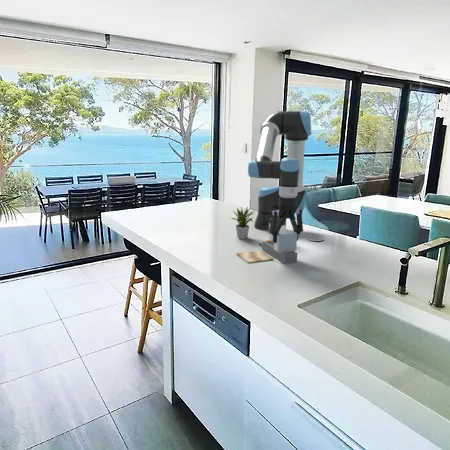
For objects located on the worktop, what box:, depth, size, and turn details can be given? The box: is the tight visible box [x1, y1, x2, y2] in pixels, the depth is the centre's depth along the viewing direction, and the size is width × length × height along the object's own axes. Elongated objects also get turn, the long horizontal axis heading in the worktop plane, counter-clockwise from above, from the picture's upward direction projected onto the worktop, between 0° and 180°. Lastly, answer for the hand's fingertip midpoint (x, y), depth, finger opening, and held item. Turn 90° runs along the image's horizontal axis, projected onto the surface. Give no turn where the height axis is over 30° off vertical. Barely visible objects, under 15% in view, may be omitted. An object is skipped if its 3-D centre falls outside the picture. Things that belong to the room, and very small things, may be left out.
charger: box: [274, 229, 297, 253], centre depth 160 cm, size 4×8×10 cm, turn 112°
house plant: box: [230, 206, 256, 240], centre depth 191 cm, size 14×14×16 cm
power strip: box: [258, 239, 298, 265], centre depth 169 cm, size 28×6×5 cm, turn 22°
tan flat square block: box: [235, 250, 274, 264], centre depth 164 cm, size 12×12×1 cm
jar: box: [268, 217, 287, 241], centre depth 185 cm, size 9×8×12 cm
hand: (285, 248), depth 161 cm, fingers closed on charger, 8 cm apart
